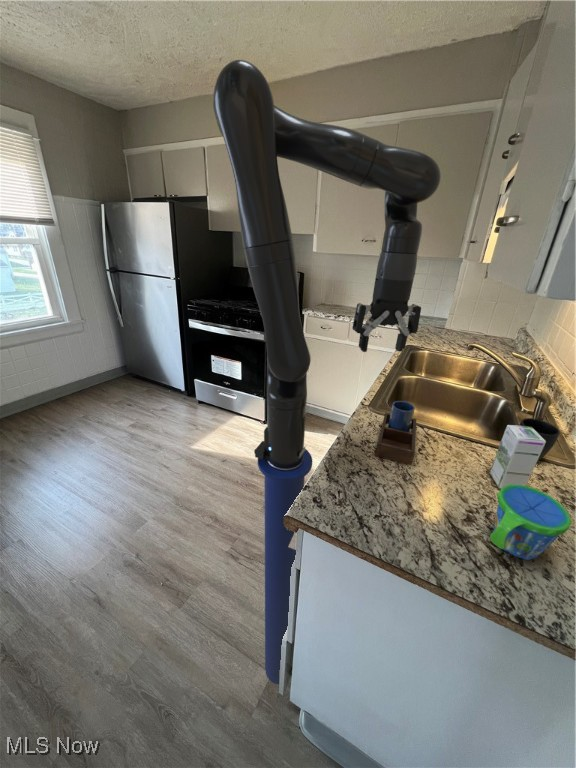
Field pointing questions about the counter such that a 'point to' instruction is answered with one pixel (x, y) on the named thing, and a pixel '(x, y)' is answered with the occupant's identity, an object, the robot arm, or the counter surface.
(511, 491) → the snack cup
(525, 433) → the syrup box
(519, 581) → the counter surface
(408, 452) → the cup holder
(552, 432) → the mug
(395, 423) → the tumbler
